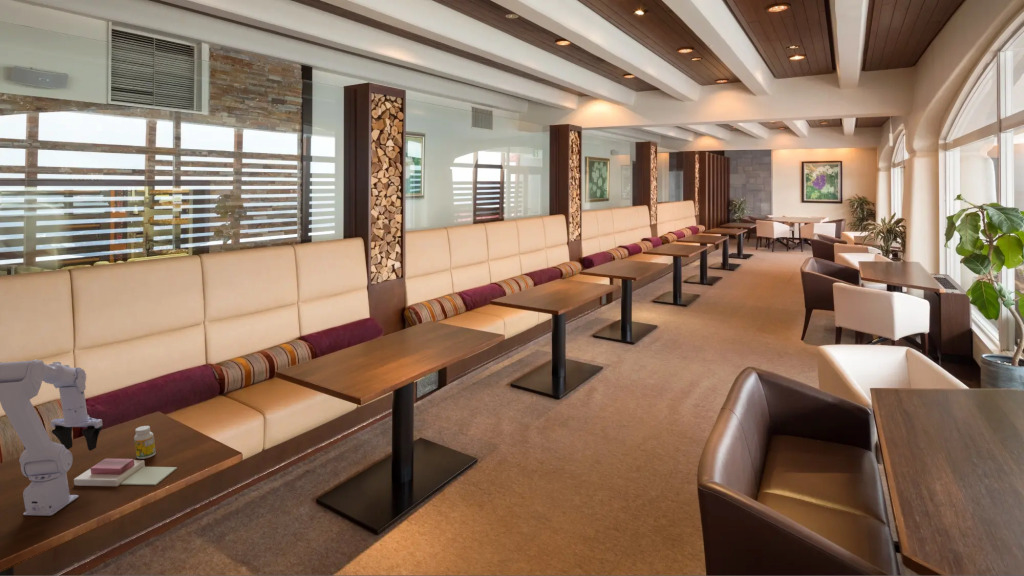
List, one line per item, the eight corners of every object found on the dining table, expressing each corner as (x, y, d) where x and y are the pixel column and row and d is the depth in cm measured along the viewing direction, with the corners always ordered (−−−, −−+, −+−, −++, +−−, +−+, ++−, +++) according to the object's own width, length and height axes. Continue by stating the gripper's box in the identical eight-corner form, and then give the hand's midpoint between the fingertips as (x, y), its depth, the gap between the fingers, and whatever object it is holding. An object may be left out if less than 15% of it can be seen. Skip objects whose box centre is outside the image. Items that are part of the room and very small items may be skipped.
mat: (155, 485, 166) (155, 484, 166) (120, 484, 166) (120, 483, 166) (176, 468, 176) (176, 467, 176) (143, 467, 176) (143, 466, 176)
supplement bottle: (159, 454, 185) (155, 426, 184) (142, 460, 181) (138, 433, 179) (150, 450, 188) (146, 423, 186) (133, 457, 183) (129, 429, 182)
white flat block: (117, 486, 166) (116, 480, 165) (74, 485, 166) (73, 479, 166) (144, 466, 177) (144, 460, 177) (105, 465, 178) (104, 459, 177)
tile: (120, 474, 168) (119, 468, 168) (91, 474, 169) (90, 468, 168) (134, 464, 174) (133, 459, 174) (106, 464, 174) (105, 458, 174)
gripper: (107, 401, 172) (113, 443, 175) (62, 401, 173) (68, 442, 175) (89, 411, 165) (95, 453, 168) (42, 410, 166) (49, 453, 168)
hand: (80, 448), depth 171 cm, fingers open, 7 cm apart
